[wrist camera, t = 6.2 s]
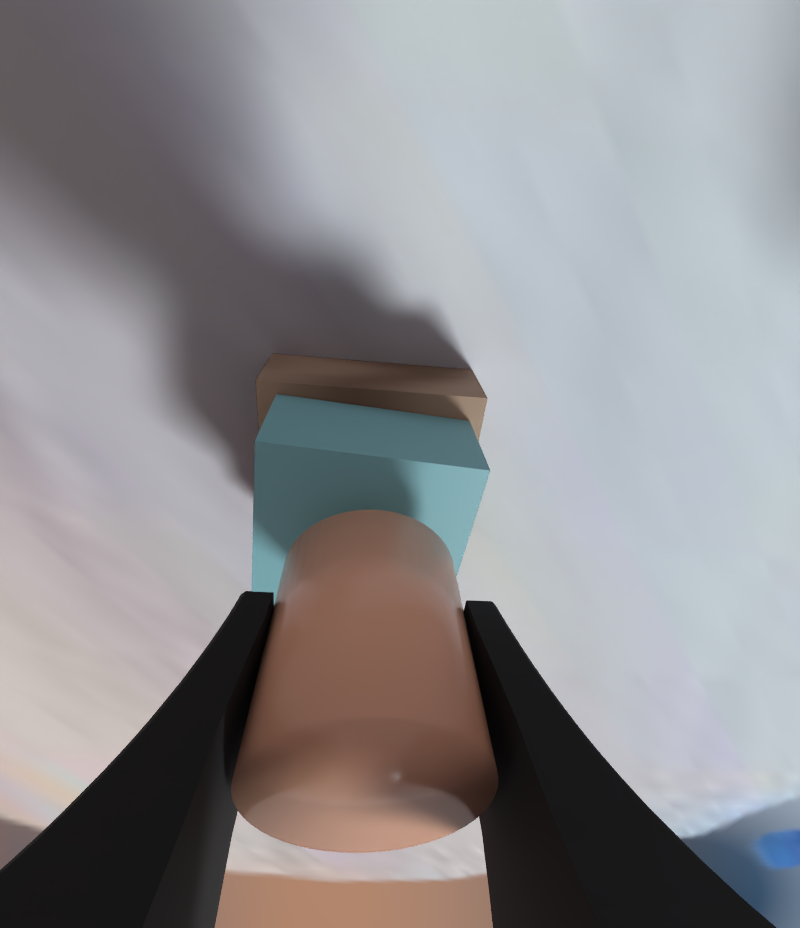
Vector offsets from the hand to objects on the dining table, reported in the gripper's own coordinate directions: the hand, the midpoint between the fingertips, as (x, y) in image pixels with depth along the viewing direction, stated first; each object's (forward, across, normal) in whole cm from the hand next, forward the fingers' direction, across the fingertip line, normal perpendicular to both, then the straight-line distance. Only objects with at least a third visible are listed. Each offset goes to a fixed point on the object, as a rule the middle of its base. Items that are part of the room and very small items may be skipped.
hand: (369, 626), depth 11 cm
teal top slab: (+6, 0, 0) cm, 6 cm away
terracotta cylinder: (+1, 0, 0) cm, 1 cm away
